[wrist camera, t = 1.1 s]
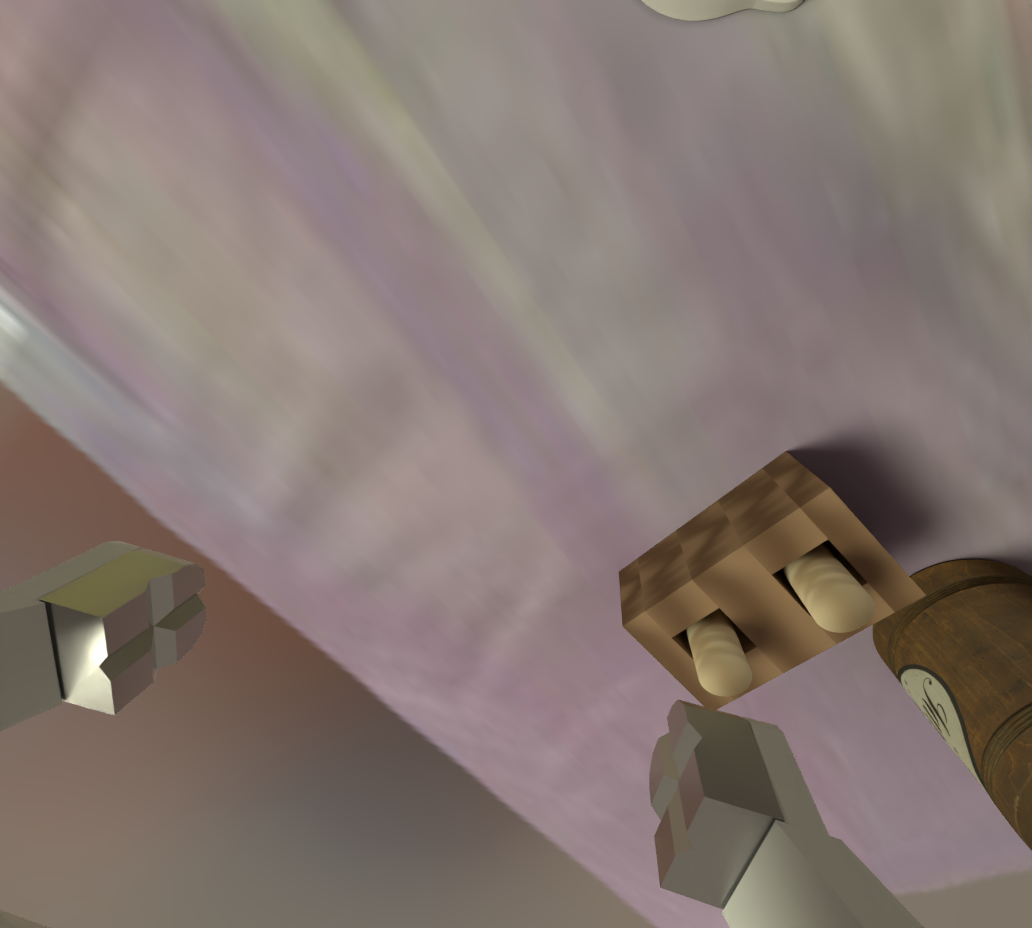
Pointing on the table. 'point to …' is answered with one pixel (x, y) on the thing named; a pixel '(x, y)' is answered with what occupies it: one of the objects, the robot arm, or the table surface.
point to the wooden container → (972, 672)
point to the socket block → (754, 576)
